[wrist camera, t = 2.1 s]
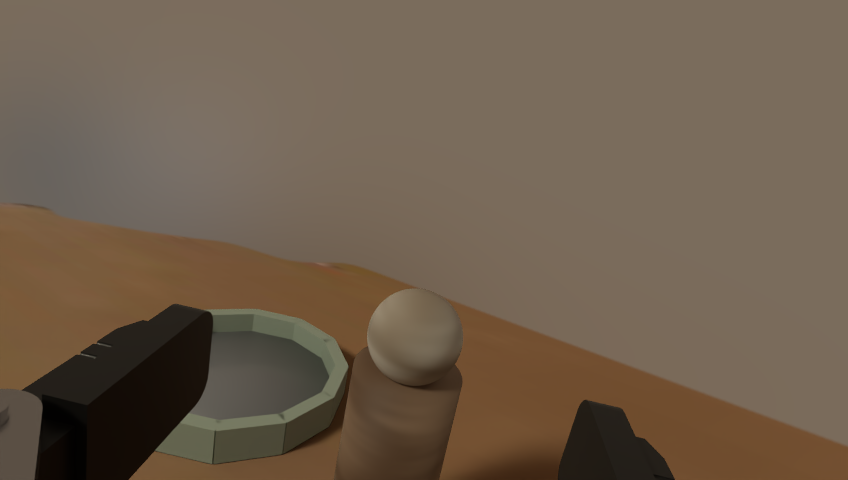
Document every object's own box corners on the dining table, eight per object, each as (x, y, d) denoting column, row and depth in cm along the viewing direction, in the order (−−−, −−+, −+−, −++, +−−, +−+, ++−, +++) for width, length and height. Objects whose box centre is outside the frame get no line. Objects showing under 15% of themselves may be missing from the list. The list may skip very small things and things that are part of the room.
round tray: (360, 356, 47) (364, 332, 46) (303, 485, 32) (308, 452, 31) (192, 319, 48) (194, 295, 47) (58, 428, 33) (57, 394, 32)
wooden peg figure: (421, 532, 30) (480, 284, 25) (409, 620, 25) (481, 331, 21) (335, 512, 30) (378, 262, 26) (307, 595, 25) (354, 304, 21)
